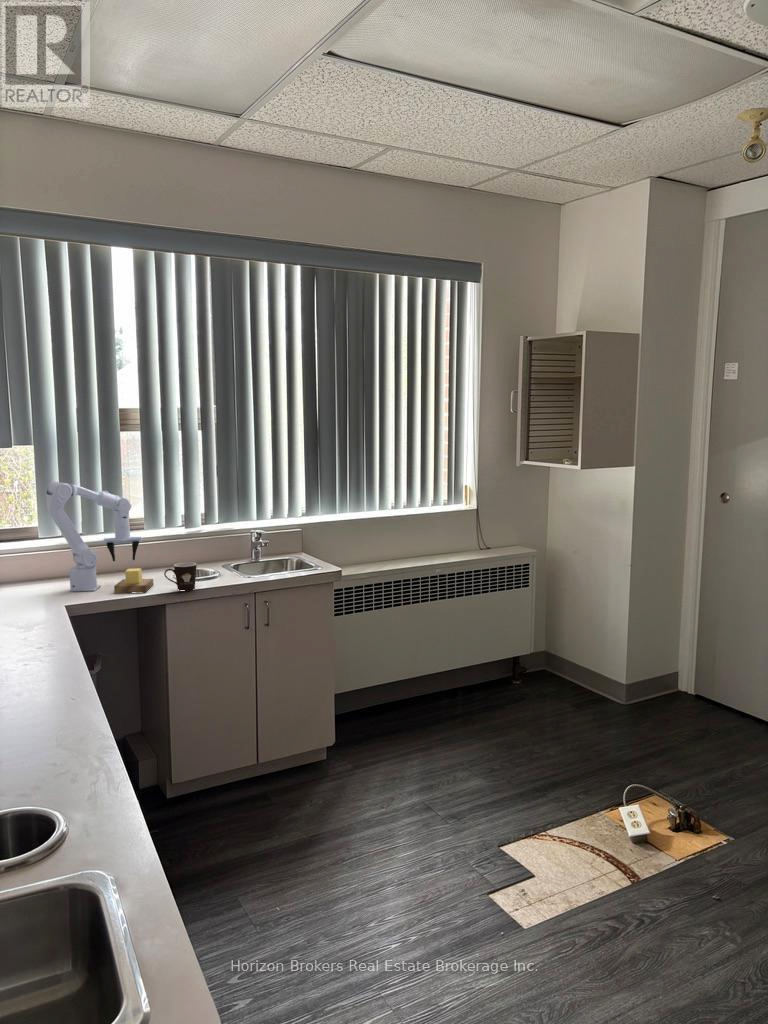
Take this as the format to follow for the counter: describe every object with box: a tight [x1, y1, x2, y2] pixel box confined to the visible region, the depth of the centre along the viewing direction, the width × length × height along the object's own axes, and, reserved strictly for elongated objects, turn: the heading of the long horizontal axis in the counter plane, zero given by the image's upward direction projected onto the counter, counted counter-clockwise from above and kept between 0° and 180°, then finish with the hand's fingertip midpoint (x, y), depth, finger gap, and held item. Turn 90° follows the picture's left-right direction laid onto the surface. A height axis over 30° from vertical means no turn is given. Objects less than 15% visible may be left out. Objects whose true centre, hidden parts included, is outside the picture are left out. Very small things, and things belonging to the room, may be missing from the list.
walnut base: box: [113, 578, 154, 594], centre depth 302 cm, size 12×12×3 cm
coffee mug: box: [163, 562, 198, 592], centre depth 301 cm, size 12×9×10 cm
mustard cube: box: [124, 567, 143, 584], centre depth 302 cm, size 5×5×5 cm
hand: (124, 560), depth 314 cm, fingers open, 7 cm apart
